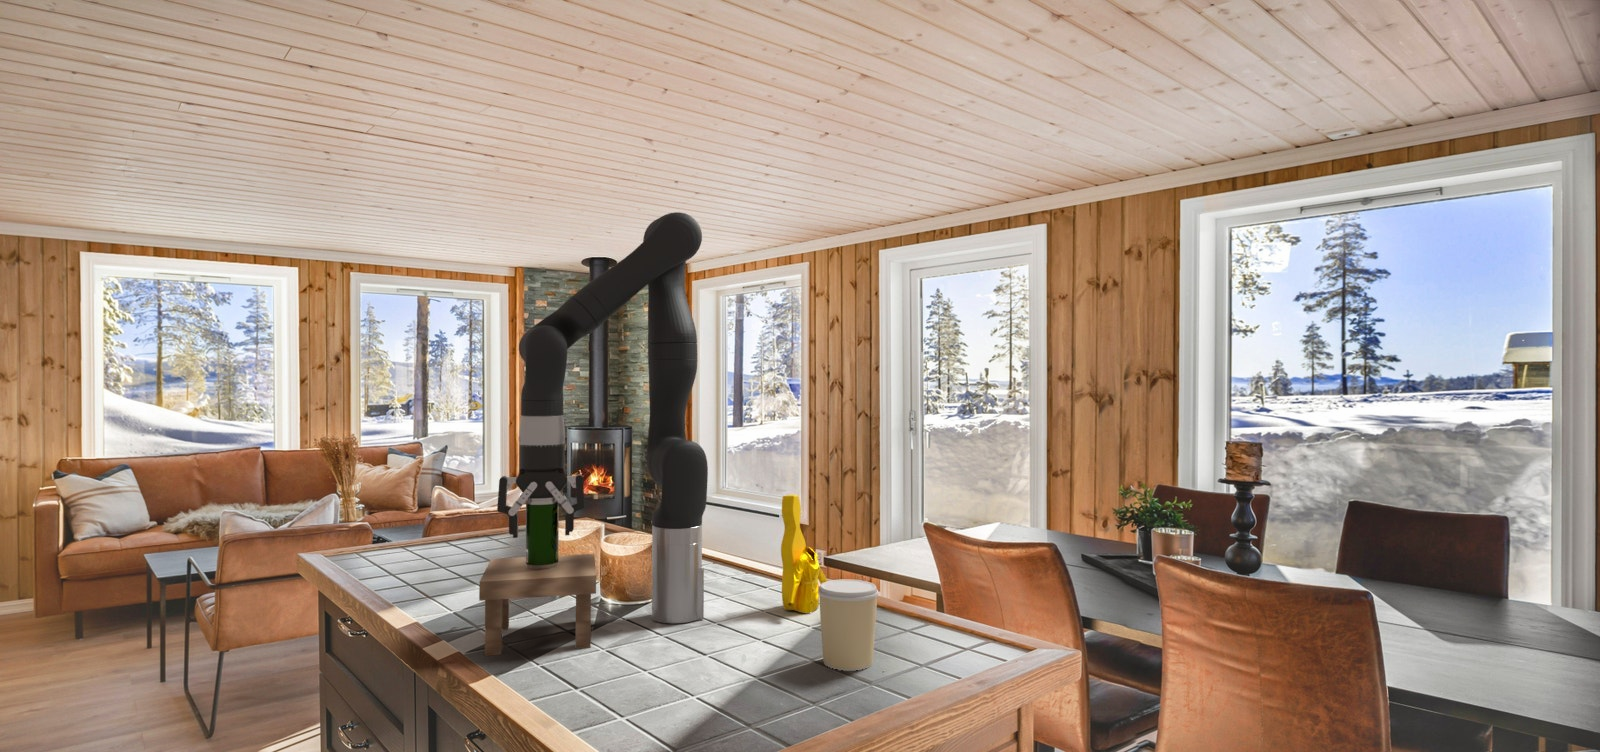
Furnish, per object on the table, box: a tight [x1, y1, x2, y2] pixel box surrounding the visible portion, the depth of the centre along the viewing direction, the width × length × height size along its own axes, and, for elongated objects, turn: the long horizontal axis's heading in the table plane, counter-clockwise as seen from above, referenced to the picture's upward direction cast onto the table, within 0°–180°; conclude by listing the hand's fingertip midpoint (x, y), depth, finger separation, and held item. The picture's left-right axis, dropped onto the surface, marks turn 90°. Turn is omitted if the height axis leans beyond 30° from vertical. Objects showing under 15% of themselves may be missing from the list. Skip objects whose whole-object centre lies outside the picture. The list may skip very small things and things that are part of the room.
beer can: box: [525, 497, 560, 570], centre depth 141 cm, size 5×5×12 cm
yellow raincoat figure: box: [780, 494, 828, 614], centre depth 159 cm, size 18×8×22 cm, turn 156°
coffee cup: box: [818, 578, 879, 672], centre depth 128 cm, size 9×9×12 cm
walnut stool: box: [478, 553, 597, 656], centre depth 141 cm, size 18×18×12 cm
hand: (541, 535), depth 141 cm, fingers open, 8 cm apart
